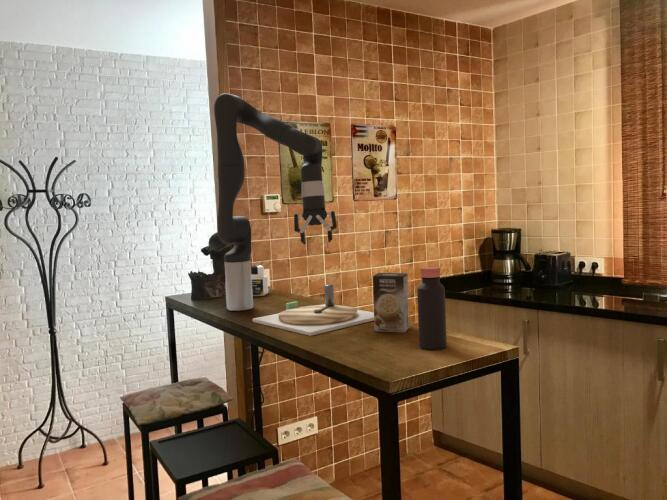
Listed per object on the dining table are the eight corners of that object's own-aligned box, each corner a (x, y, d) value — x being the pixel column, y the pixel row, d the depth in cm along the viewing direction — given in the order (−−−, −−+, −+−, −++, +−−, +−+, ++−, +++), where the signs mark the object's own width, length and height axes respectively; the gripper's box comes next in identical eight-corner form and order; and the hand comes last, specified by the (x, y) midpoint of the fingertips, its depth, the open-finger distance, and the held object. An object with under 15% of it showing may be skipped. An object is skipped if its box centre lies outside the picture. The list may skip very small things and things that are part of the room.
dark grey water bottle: (428, 351, 142) (425, 270, 141) (414, 345, 149) (411, 267, 147) (452, 347, 145) (449, 267, 143) (436, 342, 151) (434, 265, 149)
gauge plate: (252, 321, 188) (251, 309, 187) (324, 306, 207) (324, 295, 207) (310, 335, 165) (309, 321, 164) (385, 317, 184) (384, 305, 184)
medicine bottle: (246, 296, 238) (244, 266, 237) (252, 293, 245) (250, 264, 244) (263, 295, 237) (261, 266, 236) (268, 292, 244) (266, 264, 243)
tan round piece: (342, 325, 170) (341, 298, 169) (265, 323, 178) (263, 297, 178) (367, 308, 193) (366, 284, 192) (297, 307, 202) (296, 284, 201)
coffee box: (373, 331, 166) (370, 275, 164) (379, 326, 172) (376, 272, 170) (405, 332, 163) (403, 275, 161) (410, 327, 169) (407, 272, 167)
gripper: (335, 193, 200) (338, 241, 201) (293, 197, 202) (297, 244, 203) (333, 193, 193) (337, 242, 194) (290, 196, 194) (294, 245, 195)
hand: (316, 243), depth 198 cm, fingers open, 8 cm apart
